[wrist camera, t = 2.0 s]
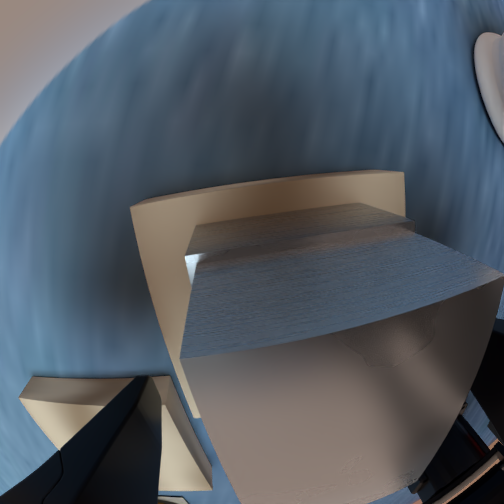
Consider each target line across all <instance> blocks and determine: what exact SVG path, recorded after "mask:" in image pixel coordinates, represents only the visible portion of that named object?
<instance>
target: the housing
mask: <svg viewBox="0 0 504 504" xmlns="http://www.w3.org/2000/svg"><path fill="white" fill-rule="evenodd" d="M185 261H186V265H187V270H188V275H189V279H190V284H191V288H192V289H191V294H190V300H189V305H188V311H187V316H186V322H185V328H184V334H183V340H182V346H181V352H180V358H179V359H180V362H181V365H182V368H183V371H184V374H185V377H186V379H187V382H188V385H189V388H190V390H191V393H192V396H193V398H194V401H195V403H196V406H197V409H198V411H199V414H200V416H201V419H202V421H203V423H204V426H205V428H206V431H207V433H208V435H209V438H210V440H211V442H212V445H213V447H214V449H215V451H216V454H217V456H218V458H219V460H220V462H221V464H222V467H223V469H224V471H225V473H226V475H227V477H228V479H229V481H230V483H231V485H232V487H233V489H234V491H235V493H236V495H237V497H238V499H239V500H240V502H241V504H367V503H370V502H372V501H375V500H377V499H380V498H382V497H385V496H387V495H389V494H392V493H394V492H396V491H398V490H400V489H403V488H405V487H407V486H409V485H411V484H413V483H415V482H416V481H417V480H418V479H419V477H420V476H421V475H422V473H423V472H424V470H425V469H426V467H427V466H428V464H429V463H430V462H431V460H432V458H433V457H434V455H435V454H436V452H437V451H438V449H439V447H440V446H441V444H442V442H443V441H444V439H445V437H446V436H447V434H448V432H449V430H450V429H451V427H452V425H453V423H454V421H455V419H456V418H457V416H458V414H459V412H460V410H461V408H462V406H463V404H464V402H465V399H466V397H467V395H468V393H469V391H470V389H471V386H472V384H473V382H474V379H475V377H476V374H477V372H478V369H479V367H480V364H481V362H482V359H483V356H484V354H485V351H486V348H487V345H488V342H489V339H490V336H491V333H492V329H493V326H494V322H495V319H496V315H497V312H498V308H499V304H500V300H501V295H502V291H503V286H504V274H503V273H501V272H499V271H497V270H495V269H493V268H491V267H489V266H487V265H485V264H483V263H481V262H479V261H477V260H475V259H473V258H471V257H469V256H466V255H464V254H462V253H460V252H458V251H456V250H453V249H451V248H449V247H447V246H445V245H442V244H440V243H438V242H436V241H433V240H431V239H429V238H426V237H424V236H422V235H419V234H417V233H415V221H414V220H411V219H409V218H406V217H403V216H400V215H397V214H394V213H391V212H388V211H385V210H382V209H379V208H376V207H372V206H369V205H366V204H363V203H360V202H359V203H350V204H342V205H334V206H325V207H317V208H310V209H302V210H294V211H287V212H280V213H273V214H266V215H259V216H252V217H245V218H239V219H232V220H226V221H219V222H213V223H207V224H201V225H196V226H195V229H194V231H193V234H192V237H191V240H190V242H189V245H188V248H187V251H186V254H185Z"/></svg>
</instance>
